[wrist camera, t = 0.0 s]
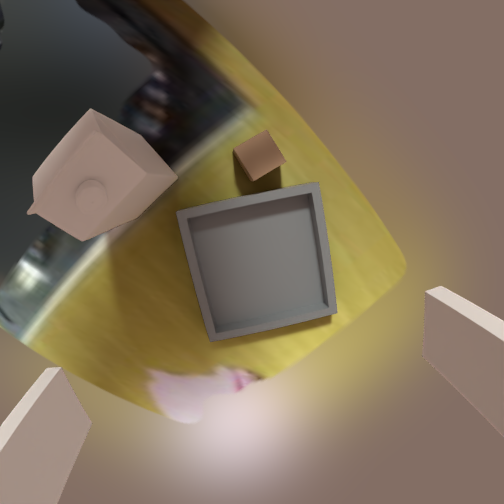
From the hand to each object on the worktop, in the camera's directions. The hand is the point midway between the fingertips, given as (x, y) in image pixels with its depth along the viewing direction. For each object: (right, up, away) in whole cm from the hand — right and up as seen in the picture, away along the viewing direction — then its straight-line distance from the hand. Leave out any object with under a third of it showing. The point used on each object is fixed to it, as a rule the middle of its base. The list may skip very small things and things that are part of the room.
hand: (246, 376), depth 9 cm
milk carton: (-13, +13, +25) cm, 31 cm away
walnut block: (+1, +15, +26) cm, 30 cm away
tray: (+1, +3, +28) cm, 28 cm away
